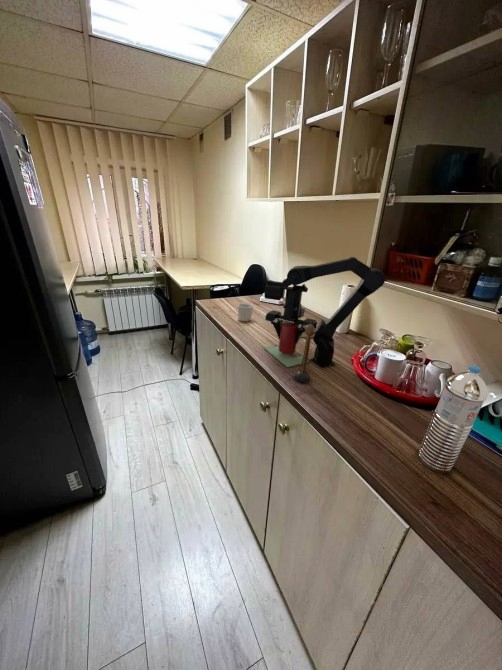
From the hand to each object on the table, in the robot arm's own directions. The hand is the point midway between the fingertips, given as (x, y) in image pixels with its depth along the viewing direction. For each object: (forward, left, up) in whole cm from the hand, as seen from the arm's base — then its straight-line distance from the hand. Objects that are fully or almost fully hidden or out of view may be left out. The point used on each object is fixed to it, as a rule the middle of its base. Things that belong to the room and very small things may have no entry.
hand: (288, 341), depth 105 cm
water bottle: (-57, -1, -7) cm, 57 cm away
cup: (+43, -3, -2) cm, 43 cm away
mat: (0, 0, -6) cm, 6 cm away
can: (0, 0, -4) cm, 4 cm away
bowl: (+17, -21, -6) cm, 28 cm away
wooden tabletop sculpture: (-16, +5, -7) cm, 18 cm away
